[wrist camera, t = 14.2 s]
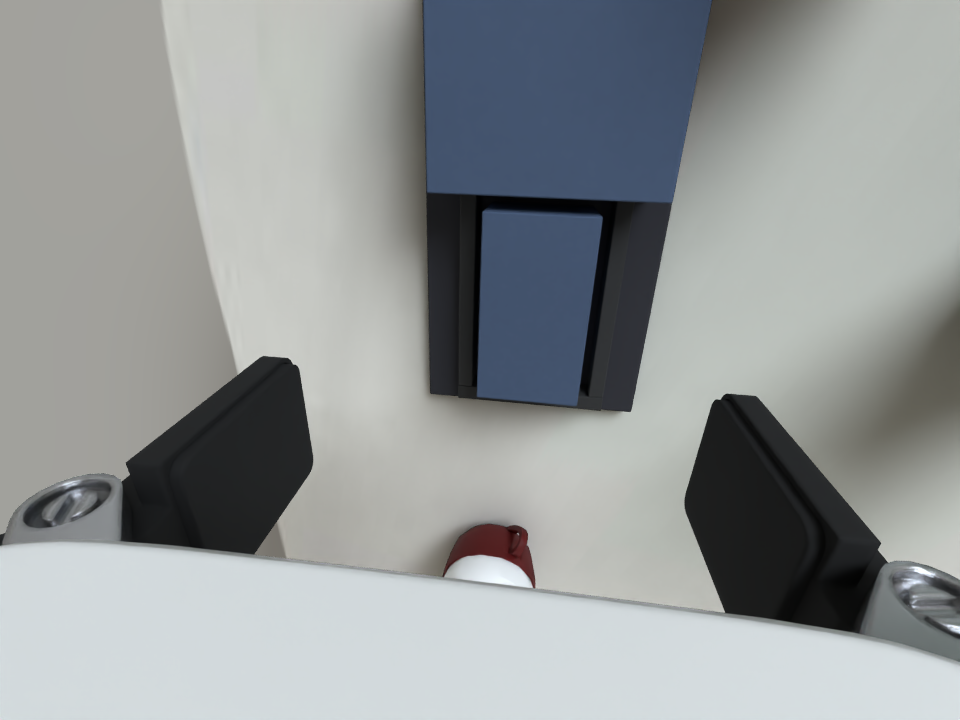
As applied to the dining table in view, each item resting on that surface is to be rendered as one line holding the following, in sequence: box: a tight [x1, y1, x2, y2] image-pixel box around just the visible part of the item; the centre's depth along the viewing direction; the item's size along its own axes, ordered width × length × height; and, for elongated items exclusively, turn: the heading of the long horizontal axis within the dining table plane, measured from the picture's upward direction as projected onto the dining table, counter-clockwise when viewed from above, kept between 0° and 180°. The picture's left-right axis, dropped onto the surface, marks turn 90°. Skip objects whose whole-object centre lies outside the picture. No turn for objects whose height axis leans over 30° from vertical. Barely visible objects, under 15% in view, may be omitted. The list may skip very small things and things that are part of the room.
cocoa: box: [443, 524, 535, 588], centre depth 29 cm, size 10×6×12 cm, turn 128°
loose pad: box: [477, 202, 603, 406], centre depth 23 cm, size 5×9×4 cm, turn 179°
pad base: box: [423, 0, 712, 412], centre depth 21 cm, size 12×22×5 cm, turn 179°
